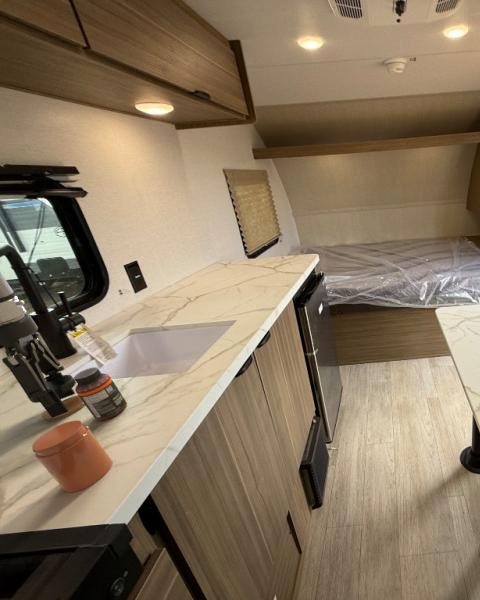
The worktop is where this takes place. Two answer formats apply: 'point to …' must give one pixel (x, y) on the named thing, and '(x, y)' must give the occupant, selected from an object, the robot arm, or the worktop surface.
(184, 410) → the worktop surface
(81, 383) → the supplement bottle
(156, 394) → the worktop surface
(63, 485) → the jam jar
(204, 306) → the worktop surface
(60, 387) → the jam lid
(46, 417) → the coaster
